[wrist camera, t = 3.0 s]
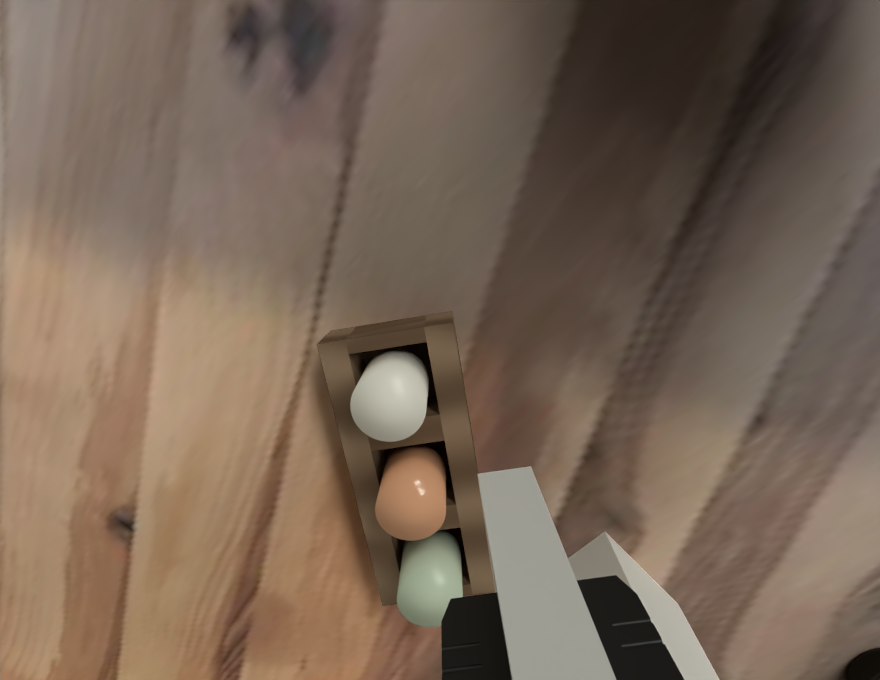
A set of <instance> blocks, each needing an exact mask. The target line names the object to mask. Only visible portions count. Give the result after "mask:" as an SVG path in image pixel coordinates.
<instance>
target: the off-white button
mask: <svg viewBox="0 0 880 680" xmlns="http://www.w3.org/2000/svg"><path fill="white" fill-rule="evenodd" d="M428 388H429V375H428V371H427V369H426V367H425V365H424V363H423V362H422V361H421V360H420V359H419V358H418V357H417V356H416V355H414V354H413V353H411V352H408V351H405V350H401V349H390V350H385V351H383V352H381V353H379V354H377V355H376V356H374V357H373V358H372V359H371V360H370V362H369V363H368V365H367V367H366V368H365V370H364V372H363V374H362V376H361V378H360V380H359V382H358V384H357V385H356V387H355V389H354V391H353V393H352V396H351V401H350V410H351V414H352V417H353V420H354V422H355V423H356V425H357V426H358V427H359V429H360V430H361V431H362V432H364V433H365V434H366V435H368V436H370V437H371V438H374V439H376V440H380V441H385V442H394V441H400V440H403V439H406V438H408V437H410V436H411V435H413V434H414V433H415V432H416V431H417V430H418V429H419V428H420V426H421V425H422V423H423V421H424V419H425V416H426V409H427V398H428Z"/></svg>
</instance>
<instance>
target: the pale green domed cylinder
mask: <svg viewBox="0 0 880 680" xmlns="http://www.w3.org/2000/svg"><path fill="white" fill-rule="evenodd" d="M460 597H463V587H462V566H461V548H460V545H459V543H458V541H457V539H456V538H455V537H454V536H453V535H452V534H451V533H449V532H447V531H445V530H438V531H437V532H435V533H434V534H433V535H431V536H429V537H427V538H425V539H422V540H416V541H407V540H406V541H405V543H404V546H403V553H402V561H401V569H400V577H399V585H398V592H397V606H398V609H399V611H400V613H401V614H402V615H403V616H404V617H405V618H406V619H407V620H408V621H410V622H411V623H413V624H416V625H419V626H422V627H438V626H441V621H442V619H443V616H444V614H445V611H446V609H447V607H448V604H449V602H450V599H452V598H460Z"/></svg>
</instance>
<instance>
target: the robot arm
mask: <svg viewBox="0 0 880 680" xmlns="http://www.w3.org/2000/svg"><path fill="white" fill-rule="evenodd" d="M478 481H479V488H480V495H481V502H482V508H483V515H484V522H485V529H486V536H487V543H488V549H489V556H490V562H491V568H492V574H493V580H494V587H495V593H490V594H482V595H475V596H467V597H460V598H452V599H450V602H449V604H448V607H447V609H446V611H445V614H444V616H443V619H442V621H441V626H442V672H443V674H442V680H684V678H683V676H682V674H681V673H680V671H679V669H678V667H677V665H676V664H675V662H674V660H673V658H672V656H671V655H670V653H669V651H668V649H667V647H666V646H665V644H663V642H662V638H661V636H660V635H659V633H658V631H657V629H656V627H655V626H654V624H653V623H652V622H651V619H650V617H649V615H648V613H647V611H646V609H645V607H644V606H643V604H642V602H641V600H640V598H639V597H638V595H637V593H635V592H634V591H633V590H632V589H631V588H630V587H629V586H628V585H627V584H625V583H624V582H623V581H622V580H621V579H620V578H619V577H618V576H616V575H613V576H606V577H598V578H591V579H583V580H576V578H575V575H574V573H573V570H572V568H571V565H570V563H569V560H568V558H567V555H566V553H565V550H564V548H563V545H562V543H561V540H560V538H559V535H558V533H557V530H556V528H555V525H554V523H553V520H552V518H551V515H550V513H549V510H548V508H547V505H546V503H545V500H544V498H543V495H542V493H541V491H540V488H539V486H538V483H537V481H536V478H535V476H534V473H533V471H532V468H531V466H530V467H522V468H515V469H508V470H501V471H494V472H487V473H480V474H478Z"/></svg>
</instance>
